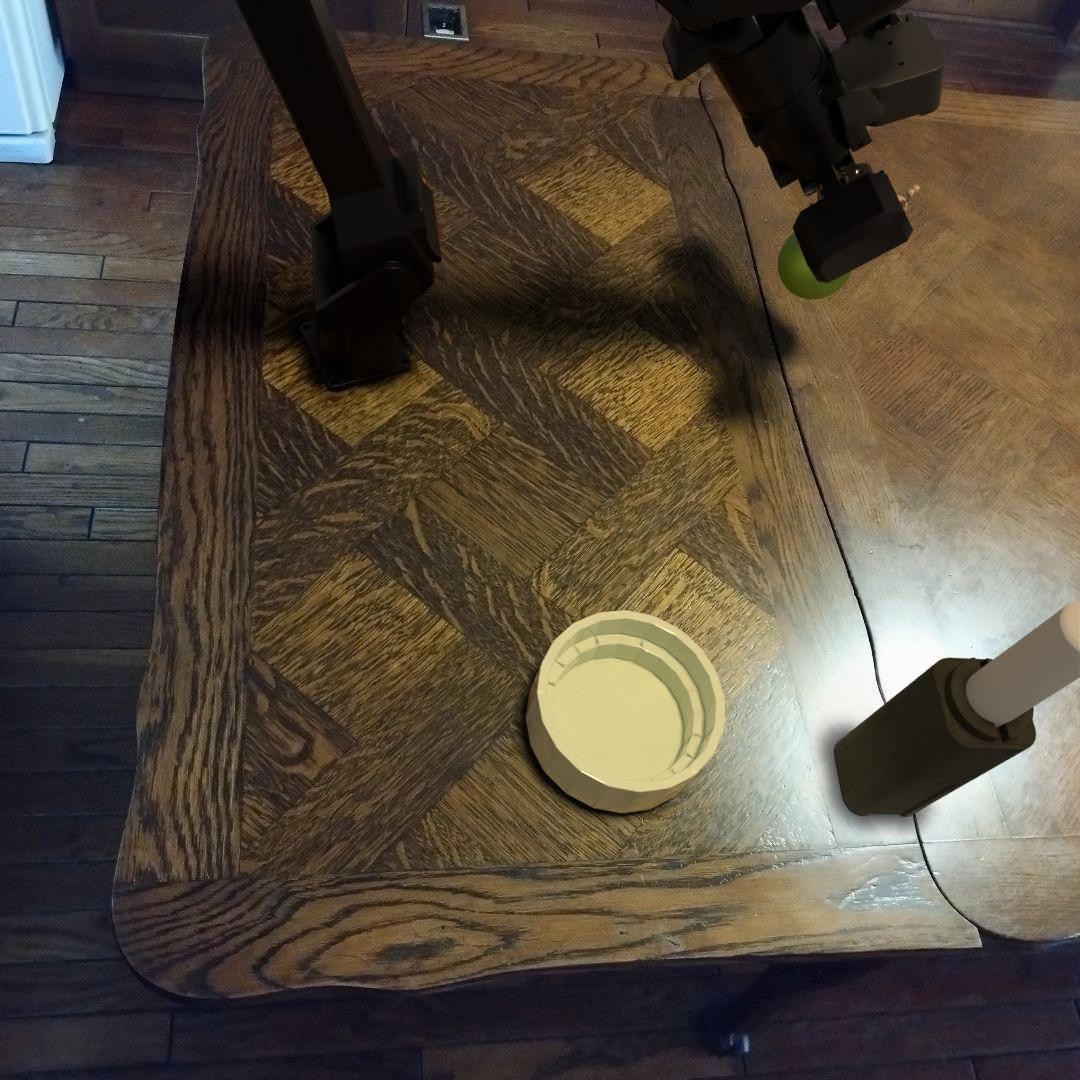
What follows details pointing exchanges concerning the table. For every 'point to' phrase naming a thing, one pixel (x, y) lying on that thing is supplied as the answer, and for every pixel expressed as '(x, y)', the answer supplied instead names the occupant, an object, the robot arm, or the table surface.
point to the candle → (956, 721)
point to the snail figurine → (798, 272)
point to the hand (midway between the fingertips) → (858, 225)
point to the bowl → (624, 711)
